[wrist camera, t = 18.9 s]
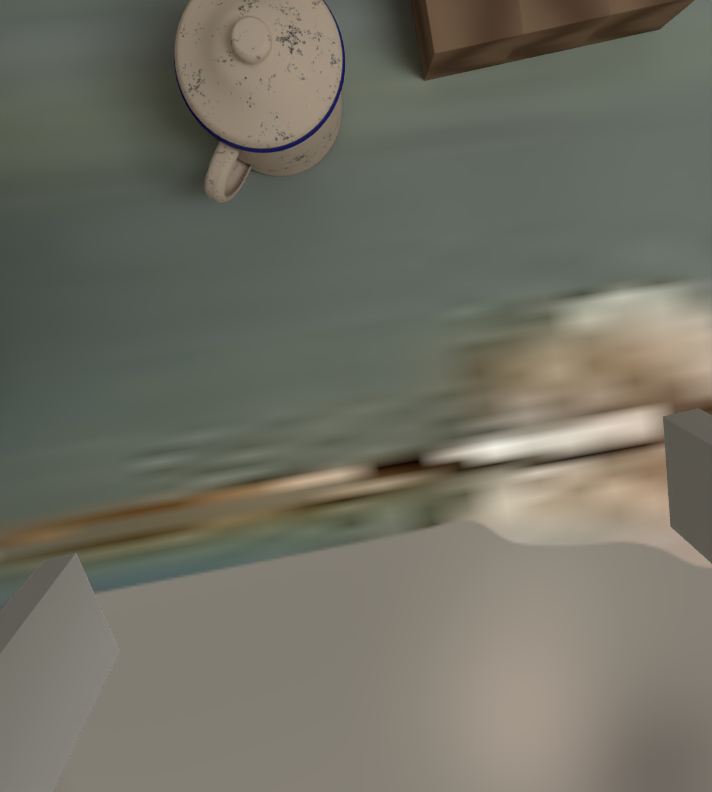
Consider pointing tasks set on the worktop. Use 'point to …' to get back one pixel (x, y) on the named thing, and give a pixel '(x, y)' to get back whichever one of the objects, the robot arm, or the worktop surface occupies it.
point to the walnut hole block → (525, 28)
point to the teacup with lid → (261, 85)
